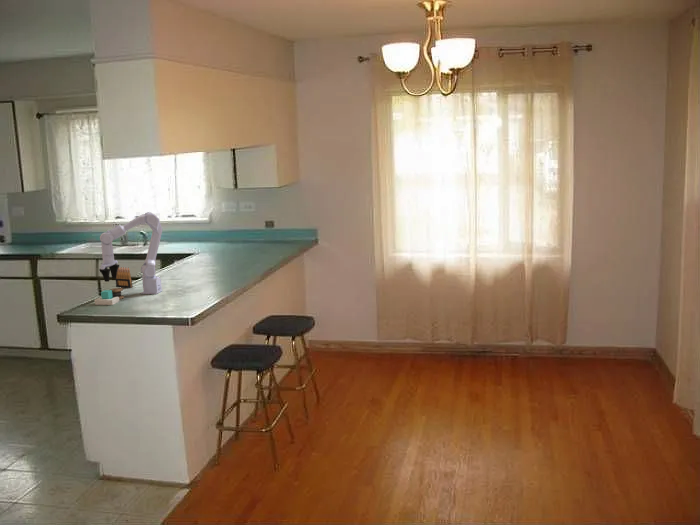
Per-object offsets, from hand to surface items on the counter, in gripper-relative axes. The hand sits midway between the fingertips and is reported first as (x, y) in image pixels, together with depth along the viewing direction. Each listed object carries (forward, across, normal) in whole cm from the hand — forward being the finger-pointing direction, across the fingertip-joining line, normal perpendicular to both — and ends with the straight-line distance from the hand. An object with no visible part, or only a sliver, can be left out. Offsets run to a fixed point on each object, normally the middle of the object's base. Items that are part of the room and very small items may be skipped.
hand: (110, 279), depth 372 cm
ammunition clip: (+10, -24, -6) cm, 27 cm away
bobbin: (+10, +1, +3) cm, 10 cm away
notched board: (+10, +11, +3) cm, 15 cm away
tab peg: (+10, +10, +3) cm, 14 cm away
